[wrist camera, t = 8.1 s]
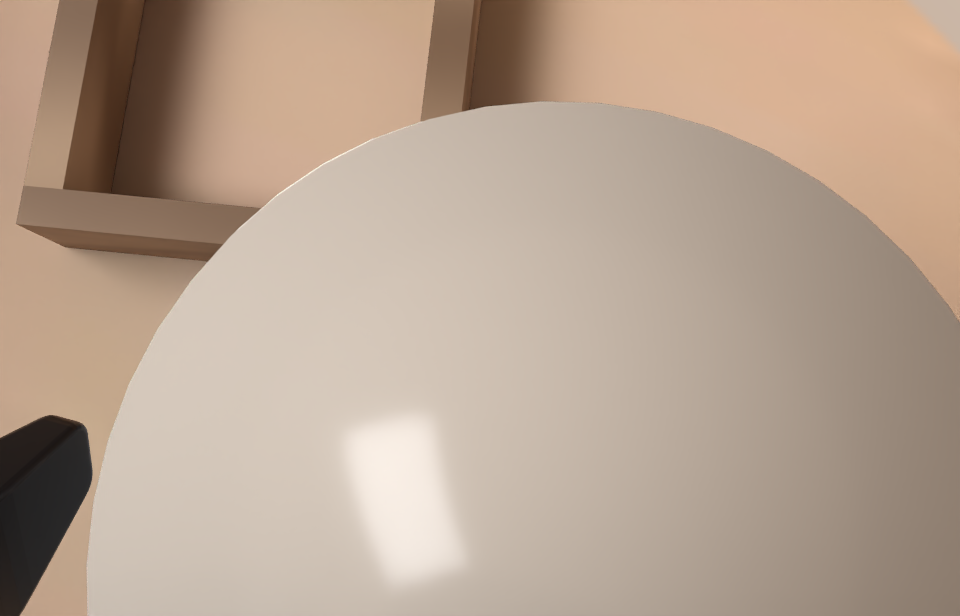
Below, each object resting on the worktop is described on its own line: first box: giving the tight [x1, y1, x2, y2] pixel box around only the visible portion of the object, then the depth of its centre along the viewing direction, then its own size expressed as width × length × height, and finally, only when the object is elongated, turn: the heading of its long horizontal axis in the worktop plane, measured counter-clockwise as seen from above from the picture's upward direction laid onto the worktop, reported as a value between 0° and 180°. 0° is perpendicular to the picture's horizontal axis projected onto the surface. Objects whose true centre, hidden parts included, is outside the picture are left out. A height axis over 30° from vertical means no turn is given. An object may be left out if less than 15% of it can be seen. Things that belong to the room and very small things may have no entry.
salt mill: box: [87, 101, 960, 616], centre depth 10 cm, size 4×4×14 cm
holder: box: [16, 0, 481, 261], centre depth 19 cm, size 9×9×2 cm
